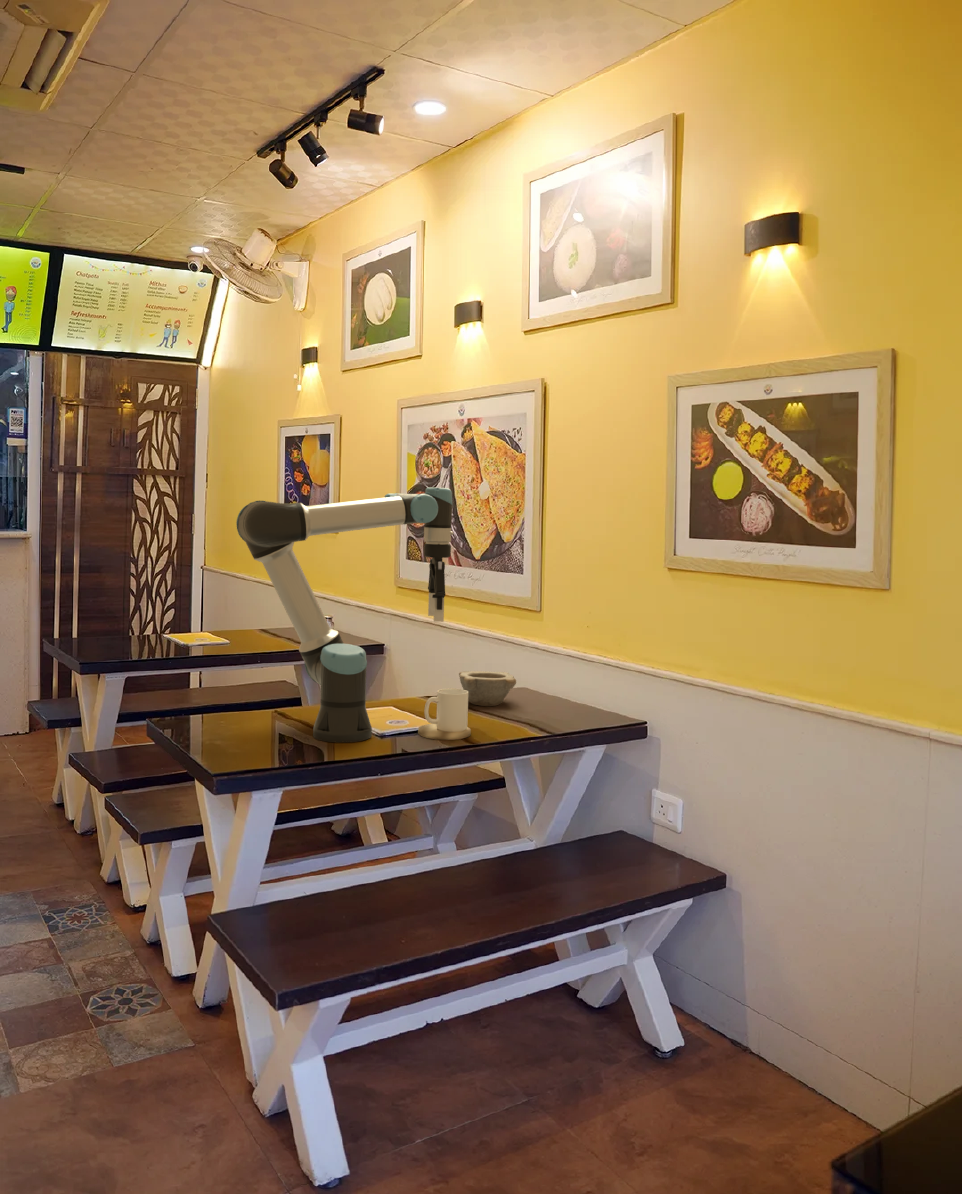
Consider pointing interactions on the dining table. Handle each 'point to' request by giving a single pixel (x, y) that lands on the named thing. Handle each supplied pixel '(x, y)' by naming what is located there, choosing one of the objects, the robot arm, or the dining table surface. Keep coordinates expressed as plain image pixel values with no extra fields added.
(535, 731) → the dining table surface
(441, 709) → the cup
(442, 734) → the disc
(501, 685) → the mortar
